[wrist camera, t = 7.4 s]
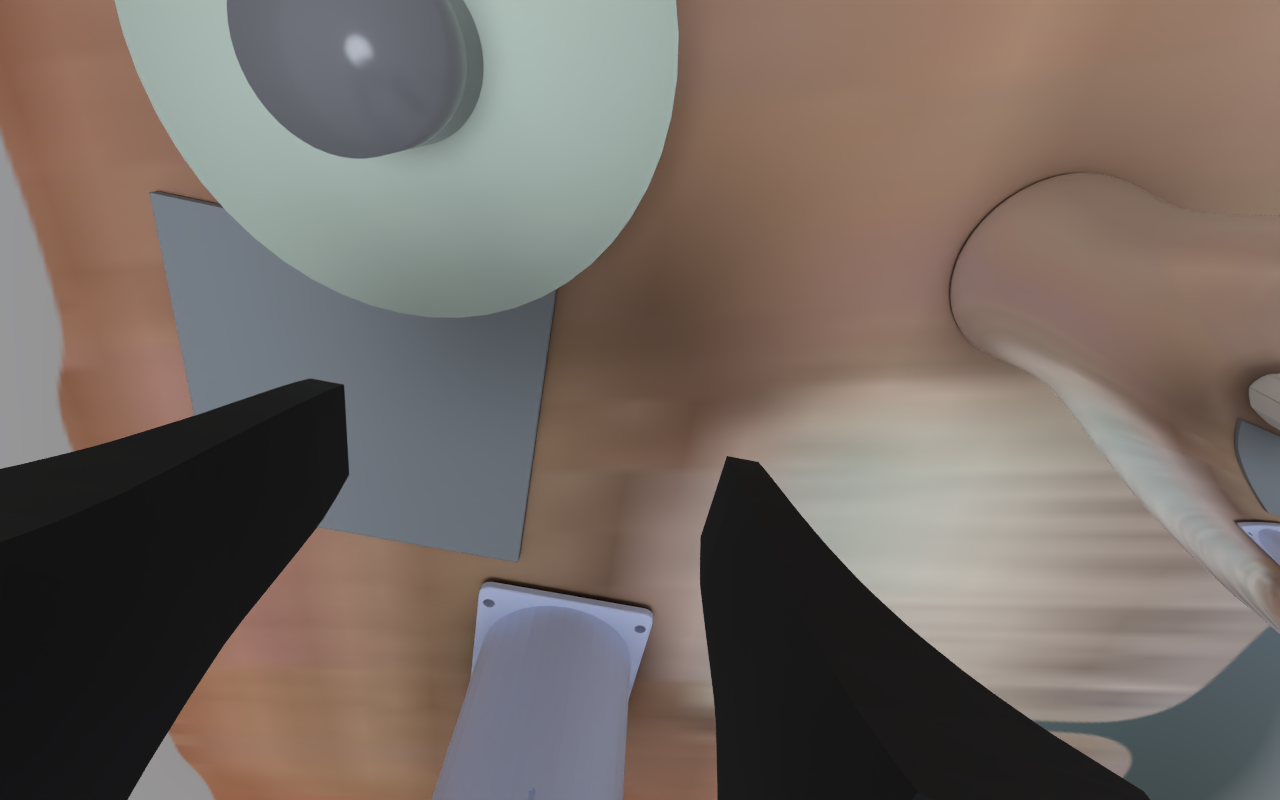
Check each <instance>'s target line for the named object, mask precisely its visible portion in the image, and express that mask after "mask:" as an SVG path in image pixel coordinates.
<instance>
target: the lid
mask: <svg viewBox="0 0 1280 800" xmlns="http://www.w3.org/2000/svg"><path fill="white" fill-rule="evenodd" d="M115 4H116V8H117V12H118V16H119V20H120V24H121V28H122V32H123V35H124V37H125V40H126V43H127V46H128V48H129V51H130V54H131V57H132V59H133V62H134V65H135V68H136V70H137V73H138V76H139V78H140V80H141V82H142V84H143V86H144V88H145V90H146V93H147V95H148V97H149V99H150V101H151V103H152V105H153V107H154V109H155V112H156V114H157V115H158V117H159V119H160V120H161V122H162V124H163V126H164V127H165V129H166V131H167V132H168V134H169V136H170V137H171V139H172V141H173V142H174V144H175V146H176V147H177V149H178V151H179V152H180V153H181V155H182V156H183V158H184V159H185V160H186V162H187V163H188V165H189V166H190V167H191V169H192V170H193V171H194V173H195V174H196V176H197V177H198V178H199V180H200V181H201V183H202V184H203V185H204V186H205V187H206V188H207V189H208V191H209V192H210V193H211V194H212V195H213V196H214V198H215V199H216V200H217V201H218V202H219V203H220V204H221V206H222V207H223V208H224V209H225V210H226V211H227V212H228V213H229V214H230V215H231V216H232V217H233V218H234V219H235V220H236V221H237V222H238V223H239V224H240V225H241V226H242V227H243V228H244V229H245V230H246V231H247V232H249V233H250V234H251V235H252V236H253V237H254V238H255V239H256V240H257V241H259V242H260V243H261V244H262V245H264V246H265V247H266V248H268V249H269V250H270V251H271V252H273V253H274V254H275V255H276V256H278V257H279V258H280V259H281V260H283V261H284V262H286V263H287V264H289V265H291V266H292V267H294V268H295V269H297V270H298V271H300V272H301V273H303V274H305V275H306V276H308V277H309V278H311V279H313V280H314V281H316V282H318V283H320V284H322V285H324V286H326V287H328V288H330V289H332V290H334V291H336V292H338V293H340V294H342V295H345V296H347V297H350V298H353V299H355V300H358V301H361V302H363V303H366V304H368V305H371V306H375V307H379V308H383V309H386V310H390V311H394V312H398V313H403V314H410V315H417V316H424V317H441V318H462V317H471V316H480V315H488V314H492V313H496V312H500V311H504V310H509V309H513V308H516V307H519V306H521V305H524V304H526V303H529V302H531V301H534V300H536V299H539V298H541V297H543V296H545V295H547V294H548V293H550V292H552V291H554V290H555V289H557V288H559V287H561V286H562V285H564V284H566V283H568V282H569V281H570V280H571V279H573V278H574V277H575V276H577V275H578V274H579V273H581V272H582V271H583V270H584V269H586V268H587V267H588V266H590V265H591V264H592V263H593V262H594V261H595V260H596V259H597V258H598V257H599V256H600V255H601V254H602V253H603V252H604V251H605V250H606V249H607V248H608V247H609V246H610V245H611V244H612V242H613V241H614V240H615V238H616V237H617V236H618V234H619V233H620V232H621V230H622V229H623V228H624V226H625V225H626V224H627V222H628V221H629V220H630V218H631V217H632V215H633V213H634V212H635V210H636V208H637V206H638V204H639V203H640V201H641V199H642V197H643V196H644V194H645V192H646V190H647V188H648V186H649V184H650V181H651V179H652V176H653V174H654V172H655V169H656V167H657V164H658V162H659V159H660V157H661V154H662V151H663V147H664V143H665V139H666V136H667V132H668V128H669V124H670V121H671V117H672V110H673V103H674V96H675V89H676V83H677V71H678V39H679V32H678V20H677V7H676V0H115Z"/></svg>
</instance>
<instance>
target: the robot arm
mask: <svg viewBox="0 0 1280 800" xmlns="http://www.w3.org/2000/svg"><path fill="white" fill-rule="evenodd" d="M348 476H349V460H348V443H347V425H346V408H345V390H344V385H343V384H338V383H333V382H327V381H322V380H317V379H311V378H310V379H306V380H301V381H297V382H294V383H290V384H287V385H284V386H281V387H278V388H275V389H272V390H269V391H266V392H263V393H260V394H257V395H254V396H251V397H248V398H245V399H242V400H239V401H236V402H233V403H230V404H227V405H225V406H222V407H219V408H216V409H213V410H210V411H207V412H204V413H201V414H198V415H195V416H192V417H189V418H186V419H183V420H180V421H177V422H173V423H170V424H167V425H164V426H160V427H157V428H154V429H151V430H147V431H144V432H141V433H138V434H134V435H131V436H128V437H125V438H121V439H118V440H115V441H111V442H108V443H104V444H101V445H97V446H93V447H90V448H86V449H82V450H78V451H74V452H71V453H67V454H62V455H59V456H54V457H50V458H46V459H42V460H37V461H33V462H29V463H25V464H21V465H17V466H12V467H7V468H3V469H0V800H127V799H128V798H129V796H130V794H131V792H132V791H133V789H134V787H135V786H136V784H137V782H138V781H139V779H140V777H141V775H142V773H143V772H144V770H145V768H146V767H147V765H148V763H149V762H150V760H151V758H152V757H153V755H154V754H155V752H156V750H157V749H158V747H159V745H160V744H161V742H162V741H163V739H164V737H165V736H166V734H167V733H168V731H169V729H170V728H171V726H172V725H173V723H174V721H175V720H176V718H177V716H178V715H179V713H180V712H181V710H182V708H183V707H184V705H185V704H186V702H187V700H188V699H189V697H190V696H191V694H192V693H193V691H194V690H195V688H196V687H197V685H198V684H199V682H200V681H201V679H202V677H203V676H204V674H205V673H206V671H207V670H208V668H209V667H210V665H211V664H212V662H213V661H214V659H215V658H216V656H217V655H218V653H219V652H220V650H221V648H222V647H223V646H224V644H225V643H226V641H227V640H228V639H229V637H230V636H231V635H232V633H233V632H234V631H235V629H236V628H237V627H238V625H239V624H240V623H241V621H242V620H243V619H244V618H245V616H246V615H247V614H248V613H249V611H250V610H251V609H252V608H253V606H254V605H255V604H256V603H257V601H258V600H259V599H260V598H261V596H262V595H263V594H264V593H265V592H266V590H267V589H268V588H269V587H270V585H271V584H272V583H273V582H274V580H275V579H276V578H277V577H278V575H279V574H280V573H281V572H282V571H283V569H284V568H285V567H286V566H287V564H288V563H289V562H290V561H291V559H292V558H293V557H294V556H295V554H296V553H297V552H298V551H299V549H300V548H301V547H302V546H303V544H304V543H305V542H306V541H307V539H308V538H309V537H310V536H311V534H312V533H313V532H314V530H315V529H316V528H317V527H318V525H319V524H320V523H321V521H322V520H323V519H324V517H325V515H326V514H327V512H328V511H329V509H330V507H331V506H332V504H333V502H334V501H335V499H336V497H337V496H338V494H339V492H340V490H341V489H342V487H343V485H344V483H345V482H346V480H347V478H348ZM700 587H701V596H702V604H703V613H704V621H705V630H706V638H707V646H708V654H709V662H710V670H711V678H712V686H713V694H714V705H715V717H716V742H717V782H718V800H1150V799H1149V798H1148V796H1147V795H1146V794H1145V792H1143V791H1142V790H1140V789H1139V788H1137V787H1136V786H1134V785H1132V784H1131V783H1129V782H1128V781H1126V780H1125V779H1123V778H1121V777H1120V776H1118V775H1117V774H1115V773H1113V772H1112V771H1110V770H1109V769H1107V768H1105V767H1104V766H1102V765H1101V764H1099V763H1097V762H1096V761H1094V760H1093V759H1091V758H1089V757H1088V756H1086V755H1085V754H1083V753H1081V752H1080V751H1078V750H1077V749H1075V748H1073V747H1072V746H1070V745H1069V744H1067V743H1065V742H1064V741H1062V740H1061V739H1059V738H1057V737H1056V736H1054V735H1053V734H1051V733H1050V732H1048V731H1047V730H1045V729H1044V728H1042V727H1041V726H1039V725H1038V724H1036V723H1035V722H1033V721H1032V720H1031V719H1029V718H1028V717H1026V716H1025V715H1023V714H1022V713H1021V712H1019V711H1018V710H1016V709H1015V708H1013V707H1012V706H1011V705H1009V704H1008V703H1006V702H1005V701H1003V700H1002V699H1001V698H999V697H998V696H996V695H995V694H993V693H992V692H991V691H989V690H988V689H987V688H985V687H984V686H983V685H981V684H980V683H979V682H977V681H976V680H975V679H973V678H972V677H971V676H969V675H968V674H966V673H965V672H964V671H963V670H961V669H960V668H959V667H958V666H956V665H955V664H954V663H953V662H951V661H950V660H949V659H948V658H946V657H945V656H944V655H943V654H941V653H940V652H939V651H938V650H936V649H935V648H934V647H933V646H931V645H930V644H929V643H928V642H926V641H925V640H924V639H923V638H922V637H920V636H919V635H918V634H917V633H916V632H914V631H913V630H912V629H911V628H910V627H909V626H907V625H906V624H905V623H904V622H903V621H902V620H901V619H900V618H899V617H897V616H896V615H895V614H894V613H893V612H892V611H891V610H890V609H889V608H888V607H887V606H886V605H884V604H883V603H882V602H881V601H880V600H879V599H878V598H877V597H876V596H875V595H874V594H873V593H872V592H871V591H870V590H869V589H867V588H866V587H865V586H864V585H863V584H862V583H861V582H860V581H859V580H858V579H857V578H856V577H855V575H854V574H853V573H852V572H851V571H850V570H849V569H848V568H847V567H846V566H845V565H844V564H843V563H842V562H841V560H840V559H839V558H838V557H837V556H836V555H835V554H834V553H833V552H832V551H831V550H830V549H829V547H828V546H827V545H826V544H825V543H824V542H823V541H822V539H821V538H820V537H819V536H818V535H817V534H816V532H815V531H814V530H813V529H812V528H811V527H810V525H809V524H808V523H807V522H806V521H805V519H804V518H803V517H802V516H801V514H800V513H799V512H798V511H797V510H796V508H795V507H794V506H793V505H792V503H791V502H790V501H789V499H788V498H787V497H786V496H785V494H784V493H783V492H782V491H781V489H780V488H779V487H778V486H777V484H776V483H775V482H774V481H773V479H772V478H771V477H770V475H769V474H768V473H767V472H766V471H765V469H764V468H763V467H762V466H761V465H760V464H759V462H755V461H750V460H744V459H739V458H734V457H728V456H727V458H726V461H725V464H724V467H723V470H722V473H721V476H720V480H719V483H718V486H717V489H716V492H715V495H714V498H713V501H712V504H711V507H710V510H709V513H708V516H707V519H706V523H705V526H704V529H703V532H702V535H701V548H700ZM488 599H490V600H488ZM652 624H653V614H652V612H651V611H650V610H648V609H645V608H640V607H634V606H628V605H623V604H617V603H611V602H605V601H600V600H594V599H588V598H582V597H577V596H571V595H565V594H560V593H554V592H548V591H542V590H537V589H531V588H525V587H520V586H514V585H508V584H502V583H497V582H486V583H484V584H482V586H481V589H480V591H479V597H478V608H477V618H476V628H475V639H474V649H473V659H472V669H471V680H470V683H469V686H468V689H467V692H466V695H465V698H464V701H463V704H462V707H461V710H460V713H459V716H458V719H457V722H456V725H455V728H454V732H453V735H452V738H451V741H450V744H449V747H448V750H447V753H446V756H445V759H444V762H443V765H442V768H441V771H440V774H439V777H438V780H437V783H436V786H435V789H434V793H433V796H432V799H431V800H623V787H624V770H625V753H626V735H627V718H628V701H629V696H630V693H631V690H632V687H633V684H634V681H635V678H636V674H637V671H638V668H639V665H640V662H641V659H642V655H643V652H644V649H645V646H646V643H647V640H648V637H649V633H650V630H651V627H652ZM638 625H641V626H638Z"/></svg>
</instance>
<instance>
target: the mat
mask: <svg viewBox="0 0 1280 800" xmlns="http://www.w3.org/2000/svg"><path fill="white" fill-rule="evenodd" d="M150 198H151V203H152V208H153V213H154V218H155V222H156V227H157V232H158V237H159V242H160V247H161V252H162V257H163V262H164V267H165V272H166V277H167V282H168V287H169V292H170V297H171V302H172V307H173V312H174V317H175V322H176V327H177V332H178V337H179V342H180V347H181V352H182V356H183V361H184V366H185V371H186V376H187V381H188V386H189V391H190V396H191V401H192V406H193V411H194V416H195V415H198V414H201V413H204V412H207V411H210V410H213V409H216V408H219V407H222V406H225V405H227V404H230V403H233V402H236V401H239V400H242V399H245V398H248V397H251V396H254V395H257V394H260V393H263V392H266V391H269V390H272V389H275V388H278V387H281V386H284V385H287V384H290V383H294V382H297V381H301V380H306V379H310V378H311V379H317V380H322V381H327V382H333V383H338V384H343V385H344V390H345V408H346V425H347V443H348V460H349V476H348V478H347V480H346V482H345V483H344V485H343V487H342V489H341V490H340V492H339V494H338V496H337V497H336V499H335V501H334V502H333V504H332V506H331V507H330V509H329V511H328V512H327V514H326V515H325V517H324V519H323V520H322V521H321V523H320V524H319V525H318V527H320V528H326V529H331V530H337V531H342V532H348V533H354V534H359V535H365V536H371V537H376V538H382V539H388V540H393V541H399V542H404V543H410V544H416V545H421V546H427V547H433V548H438V549H444V550H449V551H455V552H461V553H466V554H472V555H478V556H483V557H489V558H495V559H500V560H506V561H511V562H517V563H518V560H519V556H520V549H521V542H522V535H523V527H524V520H525V513H526V506H527V499H528V492H529V485H530V477H531V470H532V463H533V456H534V449H535V442H536V434H537V427H538V420H539V413H540V406H541V399H542V391H543V384H544V377H545V370H546V363H547V356H548V348H549V341H550V334H551V327H552V320H553V313H554V306H555V298H556V291H557V289H555V290H554V291H552V292H550V293H548V294H547V295H545V296H543V297H541V298H539V299H536V300H534V301H531V302H529V303H526V304H524V305H521V306H519V307H516V308H513V309H509V310H504V311H500V312H496V313H492V314H488V315H480V316H471V317H462V318H441V317H424V316H417V315H410V314H403V313H398V312H394V311H390V310H386V309H383V308H379V307H375V306H371V305H368V304H366V303H363V302H361V301H358V300H355V299H353V298H350V297H347V296H345V295H342V294H340V293H338V292H336V291H334V290H332V289H330V288H328V287H326V286H324V285H322V284H320V283H318V282H316V281H314V280H313V279H311V278H309V277H308V276H306V275H305V274H303V273H301V272H300V271H298V270H297V269H295V268H294V267H292V266H291V265H289V264H287V263H286V262H284V261H283V260H281V259H280V258H279V257H278V256H276V255H275V254H274V253H273V252H271V251H270V250H269V249H268V248H266V247H265V246H264V245H262V244H261V243H260V242H259V241H257V240H256V239H255V238H254V237H253V236H252V235H251V234H250V233H249V232H247V231H246V230H245V229H244V228H243V227H242V226H241V225H240V224H239V223H238V222H237V221H236V220H235V219H234V218H233V217H232V216H231V215H230V214H229V213H228V212H227V211H226V210H225V209H224V208H223V207H222V206H221V205H220V204H215V203H211V202H206V201H201V200H197V199H192V198H187V197H182V196H178V195H173V194H168V193H163V192H159V191H155V192H150Z"/></svg>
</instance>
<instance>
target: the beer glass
mask: <svg viewBox="0 0 1280 800" xmlns="http://www.w3.org/2000/svg"><path fill="white" fill-rule="evenodd" d="M950 301H951V308H952V312H953V316H954V319H955V321H956V323H957V325H958V327H959V329H960V331H961V332H962V334H963V335H964V336H965V337H966V339H967V340H968V341H969V342H970V343H971V344H973V345H974V346H975V347H977V348H978V349H979V350H981V351H982V352H984V353H986V354H988V355H990V356H992V357H994V358H996V359H998V360H1000V361H1003V362H1005V363H1007V364H1010V365H1012V366H1015V367H1017V368H1019V369H1022V370H1024V371H1026V372H1028V373H1030V374H1032V375H1033V376H1035V377H1036V378H1038V379H1039V380H1041V381H1042V382H1043V383H1044V384H1045V385H1046V386H1047V387H1048V388H1049V389H1051V390H1052V391H1053V392H1054V393H1055V395H1056V396H1057V397H1058V398H1059V400H1060V401H1061V402H1062V403H1063V404H1064V406H1065V407H1066V408H1067V409H1068V410H1069V412H1070V413H1071V414H1072V416H1073V417H1074V418H1075V420H1076V421H1077V422H1078V424H1079V425H1080V426H1081V428H1082V429H1083V430H1084V432H1085V433H1086V434H1087V436H1088V437H1089V438H1090V440H1091V441H1092V442H1093V444H1094V445H1095V446H1096V447H1097V449H1098V450H1099V451H1100V453H1101V454H1102V455H1103V456H1104V458H1105V459H1106V460H1107V462H1108V463H1109V464H1110V465H1111V467H1112V468H1113V469H1114V471H1115V472H1116V473H1117V475H1118V476H1119V477H1120V478H1121V480H1122V481H1123V482H1124V484H1125V485H1126V486H1127V487H1128V488H1129V489H1130V490H1131V492H1132V493H1133V494H1134V495H1135V496H1136V497H1137V498H1138V500H1139V501H1140V502H1141V503H1142V504H1143V505H1144V506H1145V508H1146V509H1147V510H1148V511H1149V512H1150V513H1151V514H1152V515H1153V517H1154V518H1155V519H1156V520H1157V521H1158V522H1159V523H1160V525H1161V526H1162V527H1163V528H1164V529H1165V530H1166V531H1167V533H1168V534H1169V535H1170V536H1171V537H1172V538H1173V539H1174V540H1175V541H1176V542H1177V543H1179V544H1180V545H1181V546H1182V547H1183V548H1184V549H1185V550H1186V551H1187V552H1188V553H1189V554H1190V555H1191V556H1192V557H1193V558H1194V559H1196V560H1197V561H1198V562H1199V563H1200V564H1201V565H1202V566H1203V567H1204V568H1205V569H1206V570H1207V571H1208V572H1209V573H1210V574H1211V575H1212V576H1214V577H1215V578H1216V579H1217V580H1218V581H1219V582H1220V583H1221V584H1222V585H1223V586H1224V587H1225V588H1226V589H1227V590H1228V591H1230V592H1231V593H1232V594H1233V595H1234V596H1235V597H1237V598H1238V599H1239V600H1240V601H1241V602H1243V603H1244V604H1245V605H1246V606H1247V607H1249V608H1250V609H1251V610H1252V611H1253V612H1255V613H1256V614H1257V615H1258V616H1259V617H1261V618H1262V619H1263V620H1264V621H1265V622H1266V623H1268V624H1269V625H1270V626H1271V627H1272V628H1274V629H1275V630H1276V631H1277V632H1278V633H1280V215H1242V214H1218V213H1207V212H1200V211H1194V210H1188V209H1184V208H1181V207H1177V206H1174V205H1172V204H1169V203H1167V202H1165V201H1163V200H1161V199H1159V198H1158V197H1156V196H1154V195H1152V194H1150V193H1149V192H1147V191H1145V190H1143V189H1141V188H1139V187H1138V186H1136V185H1134V184H1132V183H1129V182H1127V181H1125V180H1122V179H1120V178H1117V177H1113V176H1109V175H1105V174H1100V173H1072V174H1065V175H1060V176H1055V177H1052V178H1048V179H1045V180H1042V181H1040V182H1037V183H1035V184H1032V185H1030V186H1028V187H1026V188H1024V189H1022V190H1021V191H1019V192H1017V193H1016V194H1014V195H1012V196H1011V197H1009V198H1008V199H1007V200H1005V201H1004V202H1003V203H1001V204H1000V205H999V206H998V207H996V208H995V209H994V210H993V211H992V212H991V213H990V214H989V215H988V216H987V217H986V218H985V219H984V220H983V221H982V222H981V223H980V224H979V225H978V227H977V228H976V229H975V230H974V232H973V233H972V234H971V236H970V237H969V239H968V240H967V242H966V243H965V245H964V247H963V249H962V251H961V253H960V255H959V257H958V259H957V262H956V265H955V268H954V271H953V275H952V280H951V287H950Z"/></svg>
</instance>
